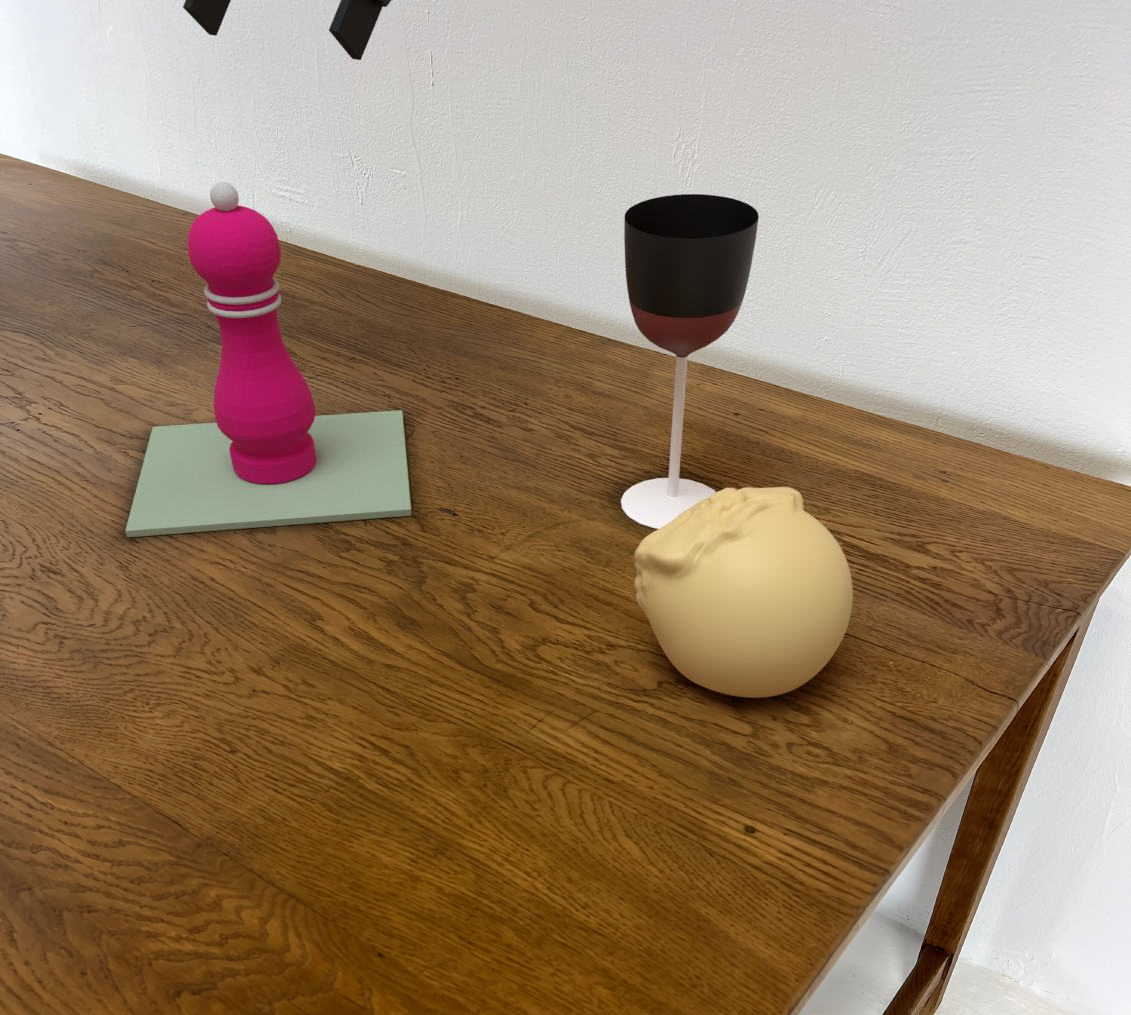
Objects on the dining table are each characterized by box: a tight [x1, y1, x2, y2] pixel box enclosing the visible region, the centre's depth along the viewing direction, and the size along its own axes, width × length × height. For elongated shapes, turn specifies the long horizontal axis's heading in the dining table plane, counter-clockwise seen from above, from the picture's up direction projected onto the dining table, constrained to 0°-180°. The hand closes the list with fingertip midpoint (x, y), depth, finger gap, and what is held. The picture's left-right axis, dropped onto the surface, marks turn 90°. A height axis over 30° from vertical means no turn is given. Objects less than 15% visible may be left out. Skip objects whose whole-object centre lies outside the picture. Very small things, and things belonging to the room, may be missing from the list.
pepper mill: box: [187, 181, 317, 484], centre depth 80 cm, size 7×7×20 cm
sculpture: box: [633, 486, 854, 699], centre depth 66 cm, size 11×12×11 cm
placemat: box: [124, 409, 413, 538], centre depth 87 cm, size 20×16×1 cm
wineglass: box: [620, 193, 760, 530], centre depth 77 cm, size 8×9×20 cm
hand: (269, 33), depth 78 cm, fingers open, 13 cm apart
